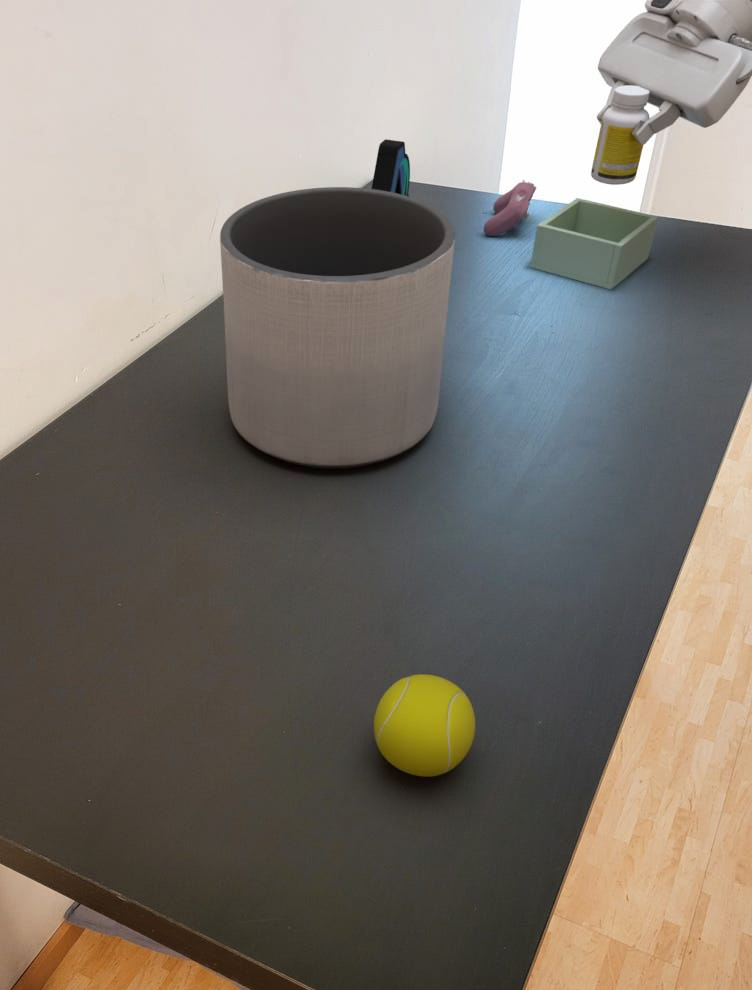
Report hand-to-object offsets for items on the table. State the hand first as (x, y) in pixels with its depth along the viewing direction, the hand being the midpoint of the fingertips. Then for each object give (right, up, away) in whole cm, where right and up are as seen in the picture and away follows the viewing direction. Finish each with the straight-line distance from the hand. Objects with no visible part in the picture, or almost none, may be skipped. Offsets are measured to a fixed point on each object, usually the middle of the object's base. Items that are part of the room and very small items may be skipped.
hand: (618, 131), depth 112 cm
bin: (+1, -10, +14) cm, 17 cm away
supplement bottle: (+1, -4, +4) cm, 6 cm away
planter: (-35, -37, -12) cm, 53 cm away
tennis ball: (-31, -70, -44) cm, 88 cm away
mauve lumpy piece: (-7, -1, +24) cm, 25 cm away
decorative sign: (-26, -9, +16) cm, 32 cm away
